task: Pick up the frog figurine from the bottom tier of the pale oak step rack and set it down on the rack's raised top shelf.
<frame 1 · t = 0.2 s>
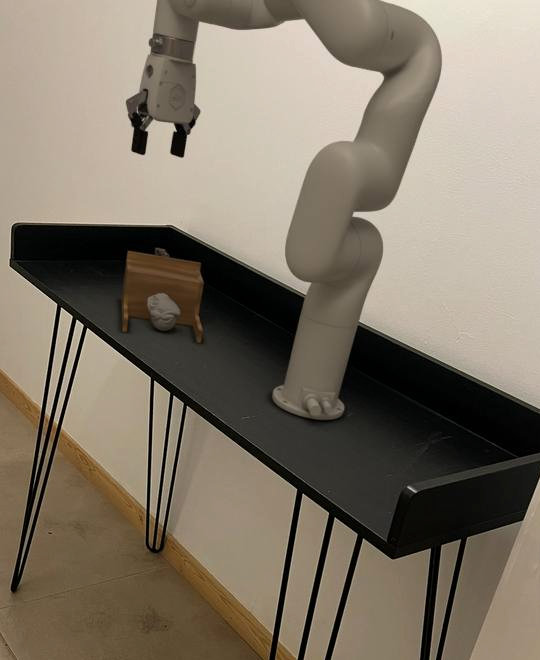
hand: (157, 154, 154), 31 cm above the table, tool pointing down, fingers open, 9 cm apart
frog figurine: (160, 330, 166), on the table
step rack: (159, 321, 170), on the table
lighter: (155, 296, 186), on the table
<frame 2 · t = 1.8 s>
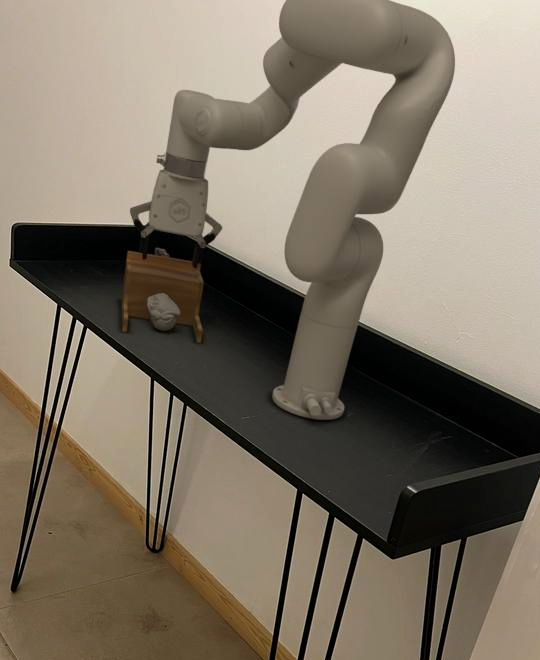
hand: (169, 262, 159), 13 cm above the table, tool pointing down, fingers open, 9 cm apart
nothing on the table moved.
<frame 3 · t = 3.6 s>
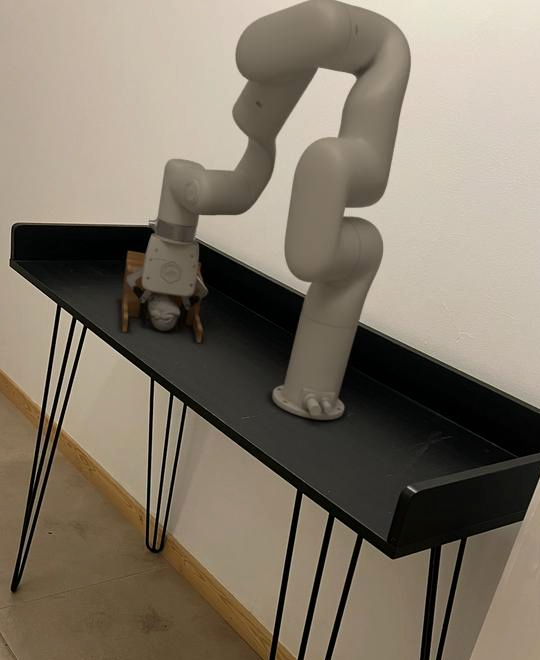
hand: (161, 323, 165), 1 cm above the table, tool pointing down, fingers closed on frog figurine, 6 cm apart
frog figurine: (160, 330, 166), on the table, touching gripper
everything else where it was.
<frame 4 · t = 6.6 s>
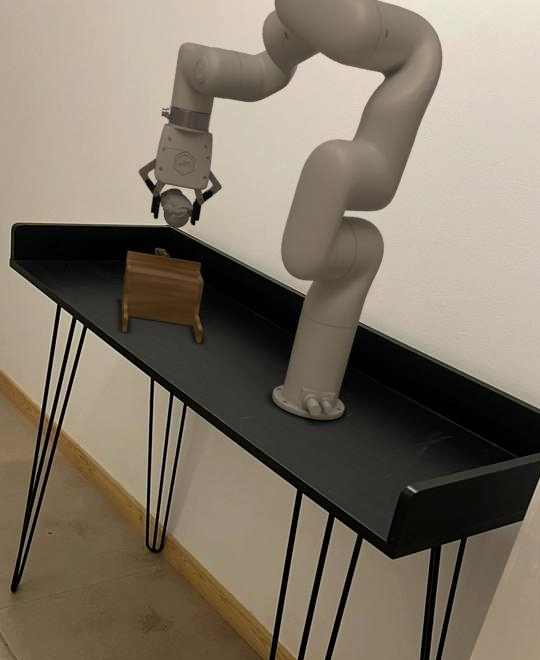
hand: (174, 220, 162), 20 cm above the table, tool pointing down, fingers closed on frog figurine, 6 cm apart
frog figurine: (173, 228, 163), point 18 cm above the table, touching gripper
everything else where it was.
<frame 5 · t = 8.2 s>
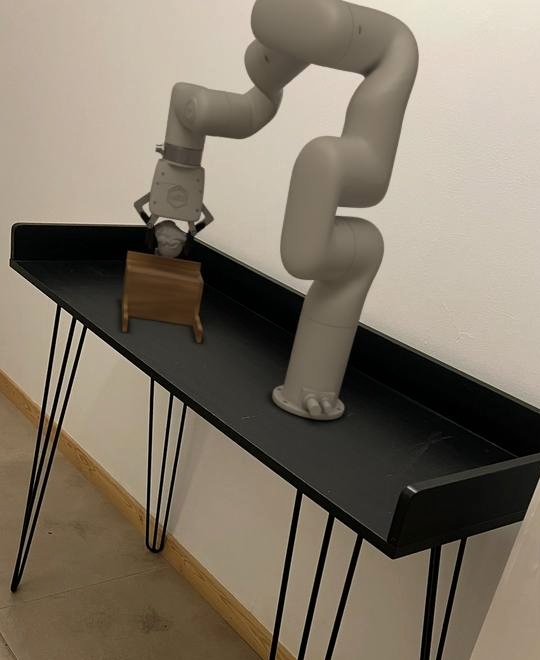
hand: (168, 250, 168), 13 cm above the table, tool pointing down, fingers closed on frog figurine, 6 cm apart
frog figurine: (167, 257, 169), point 12 cm above the table, touching gripper
everything else where it was.
when the fingers open (10 cm above the table, at t = 9.5 s): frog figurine stays where it is, resting on step rack.
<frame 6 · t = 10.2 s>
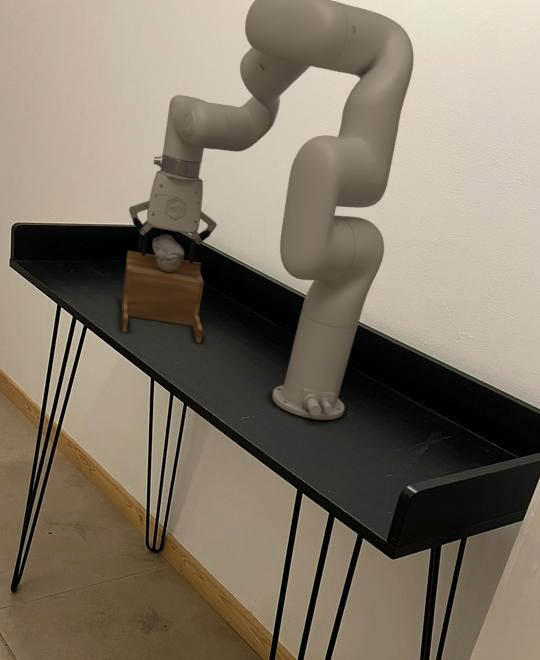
hand: (167, 258, 169), 12 cm above the table, tool pointing down, fingers open, 9 cm apart
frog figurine: (165, 271, 170), point 9 cm above the table, touching step rack
everything else where it was.
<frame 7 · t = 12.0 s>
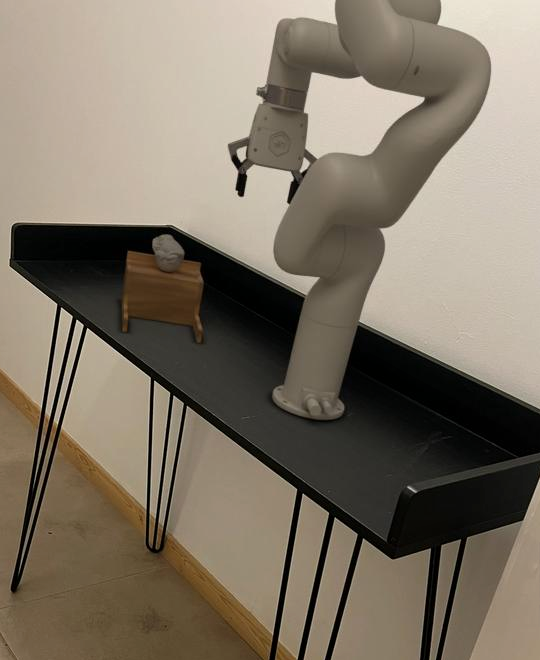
hand: (265, 200, 157), 27 cm above the table, tool pointing down, fingers open, 9 cm apart
nothing on the table moved.
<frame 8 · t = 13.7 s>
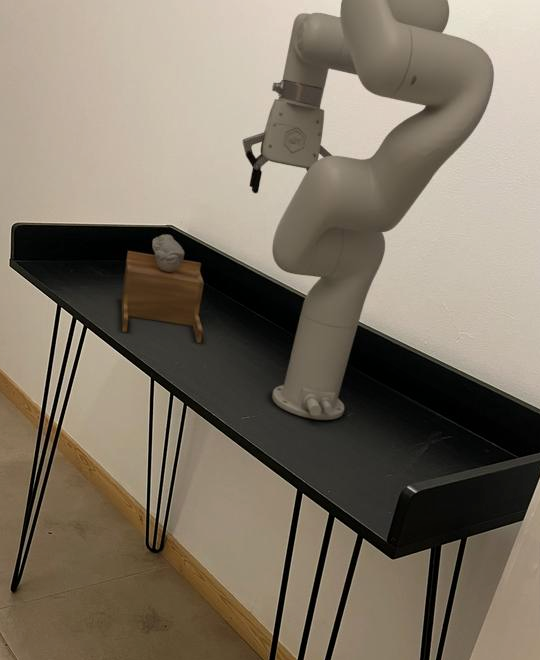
hand: (279, 196, 156), 28 cm above the table, tool pointing down, fingers open, 9 cm apart
nothing on the table moved.
at the end: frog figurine inside the target area on the step rack (0.5 cm from its centre), point 8.8 cm above the step rack's base; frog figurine tilted 0°; the gripper is holding nothing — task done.
